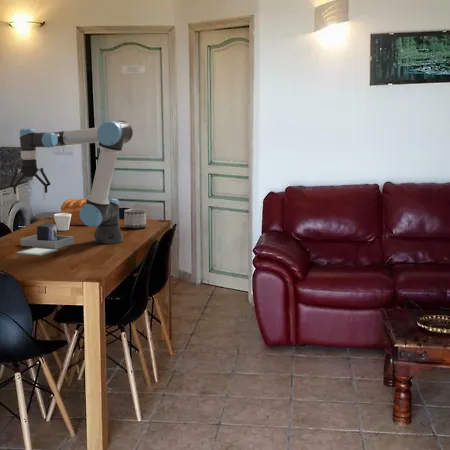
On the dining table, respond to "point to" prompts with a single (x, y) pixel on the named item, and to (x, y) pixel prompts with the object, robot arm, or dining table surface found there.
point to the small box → (47, 232)
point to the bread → (73, 210)
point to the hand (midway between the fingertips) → (31, 199)
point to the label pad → (37, 251)
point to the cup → (62, 221)
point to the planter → (135, 218)
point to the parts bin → (47, 242)
